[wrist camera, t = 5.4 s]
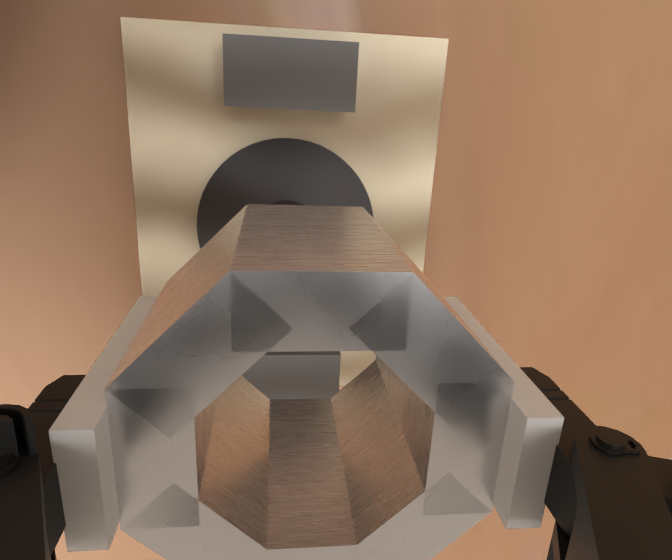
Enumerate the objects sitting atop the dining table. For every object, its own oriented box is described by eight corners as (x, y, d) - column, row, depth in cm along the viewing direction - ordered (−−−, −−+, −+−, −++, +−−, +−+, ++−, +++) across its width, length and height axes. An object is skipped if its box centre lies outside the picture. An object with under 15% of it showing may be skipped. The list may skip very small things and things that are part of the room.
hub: (161, 202, 15) (90, 268, 9) (440, 208, 16) (534, 273, 10) (177, 443, 17) (129, 612, 12) (415, 436, 18) (477, 590, 13)
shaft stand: (126, 19, 26) (47, -19, 17) (441, 41, 28) (521, 15, 19) (153, 377, 32) (106, 486, 23) (406, 375, 34) (452, 474, 25)
